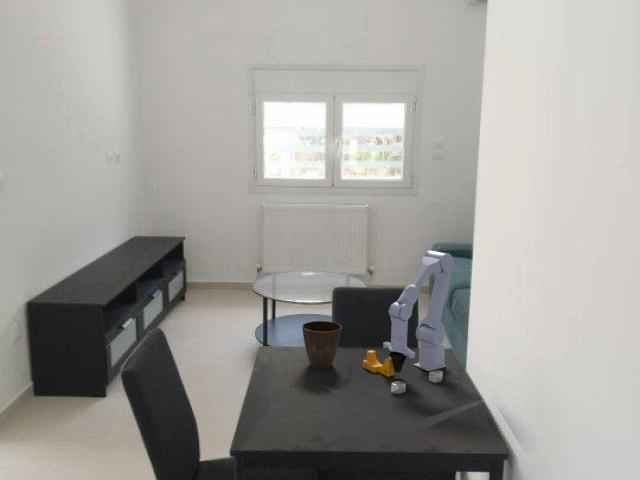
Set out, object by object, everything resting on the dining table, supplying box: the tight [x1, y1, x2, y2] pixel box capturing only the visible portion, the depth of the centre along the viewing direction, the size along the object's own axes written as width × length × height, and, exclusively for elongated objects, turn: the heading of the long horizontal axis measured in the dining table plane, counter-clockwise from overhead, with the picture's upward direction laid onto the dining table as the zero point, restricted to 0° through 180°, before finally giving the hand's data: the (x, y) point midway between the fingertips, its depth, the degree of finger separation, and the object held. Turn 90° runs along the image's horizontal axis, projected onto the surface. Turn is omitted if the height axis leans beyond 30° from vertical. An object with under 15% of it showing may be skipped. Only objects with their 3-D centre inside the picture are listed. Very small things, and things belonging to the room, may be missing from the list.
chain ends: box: [390, 369, 443, 395], centre depth 209 cm, size 24×3×3 cm, turn 126°
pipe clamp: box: [362, 349, 395, 378], centre depth 221 cm, size 12×4×6 cm, turn 38°
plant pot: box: [301, 320, 343, 370], centre depth 225 cm, size 15×15×16 cm
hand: (397, 371), depth 217 cm, fingers closed
